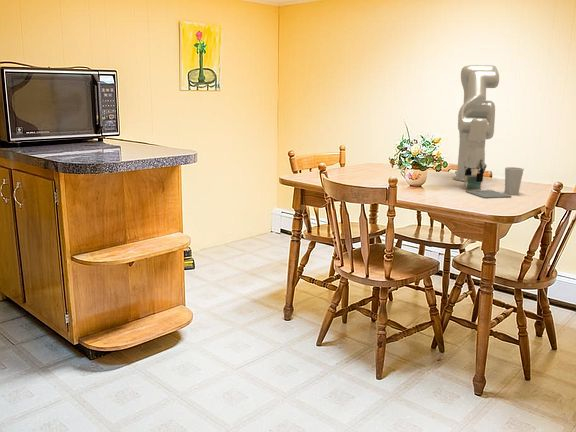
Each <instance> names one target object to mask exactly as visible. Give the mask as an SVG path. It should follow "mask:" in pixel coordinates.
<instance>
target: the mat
mask: <svg viewBox="0 0 576 432" xmlns="http://www.w3.org/2000/svg"><path fill="white" fill-rule="evenodd" d="M465 193H467V194H470V195H472V196H475V197H478V198H482V199H505V198H507V199H508V198H511V199H512V195H508V194H505V193H504V192H503V193H502V192H499V191H495V190H492V189H489V190H488V189H487V190H486V189H485V190H484V189H483V190H465Z"/></svg>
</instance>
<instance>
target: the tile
mask: <svg viewBox="0 0 576 432" xmlns="http://www.w3.org/2000/svg"><path fill="white" fill-rule="evenodd" d="M476 176H477V174H475V175H469V176H465V181H464V187H463V190H464V191H481V189H482V188H481V187H482V182H476Z"/></svg>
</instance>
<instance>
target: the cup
mask: <svg viewBox="0 0 576 432" xmlns="http://www.w3.org/2000/svg"><path fill="white" fill-rule="evenodd" d="M504 169H505V170H504V175H505V176H504V178H505V179H504V192H503V194H506V195H509V196H518V195H520V188H521V182H522V178H523V174H524V169H525V168H522V167H515V166H514V167H512V166H511V167H510V166H509V167H505V168H504Z"/></svg>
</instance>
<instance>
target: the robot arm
mask: <svg viewBox="0 0 576 432" xmlns="http://www.w3.org/2000/svg"><path fill="white" fill-rule="evenodd" d="M460 82H461V84H462V89H463V104H462V105H461V106H460V108H459V109H458V110H459V111H458V114H457V129H458V133H459V142H458V143H459V147H458V158H457V166H456V167H457V168H456V169H457V170H456V171H455V172H454V174H456V175H454V176H453V180H454V181H460V182H465V176H469V175H477V176H476V182H481V183H482V182H483V181H484V174H485V171H486V168H487V167H488V166H487V164H486V163H485V161H486V155H485V154H486V151H485V148H486V140H491V139H492V138H493V136H494V134H495V119H496V105H495V102H494V101H492V100H487V89H495V88H497V87H498V86H499V83H500V74H499V71H498V67H496V66H495V65H491V64H490V65H489V64H482V65H481V64H469V65H464V66H463V67H462V68H461V72H460ZM476 172H477V173H476Z"/></svg>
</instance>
